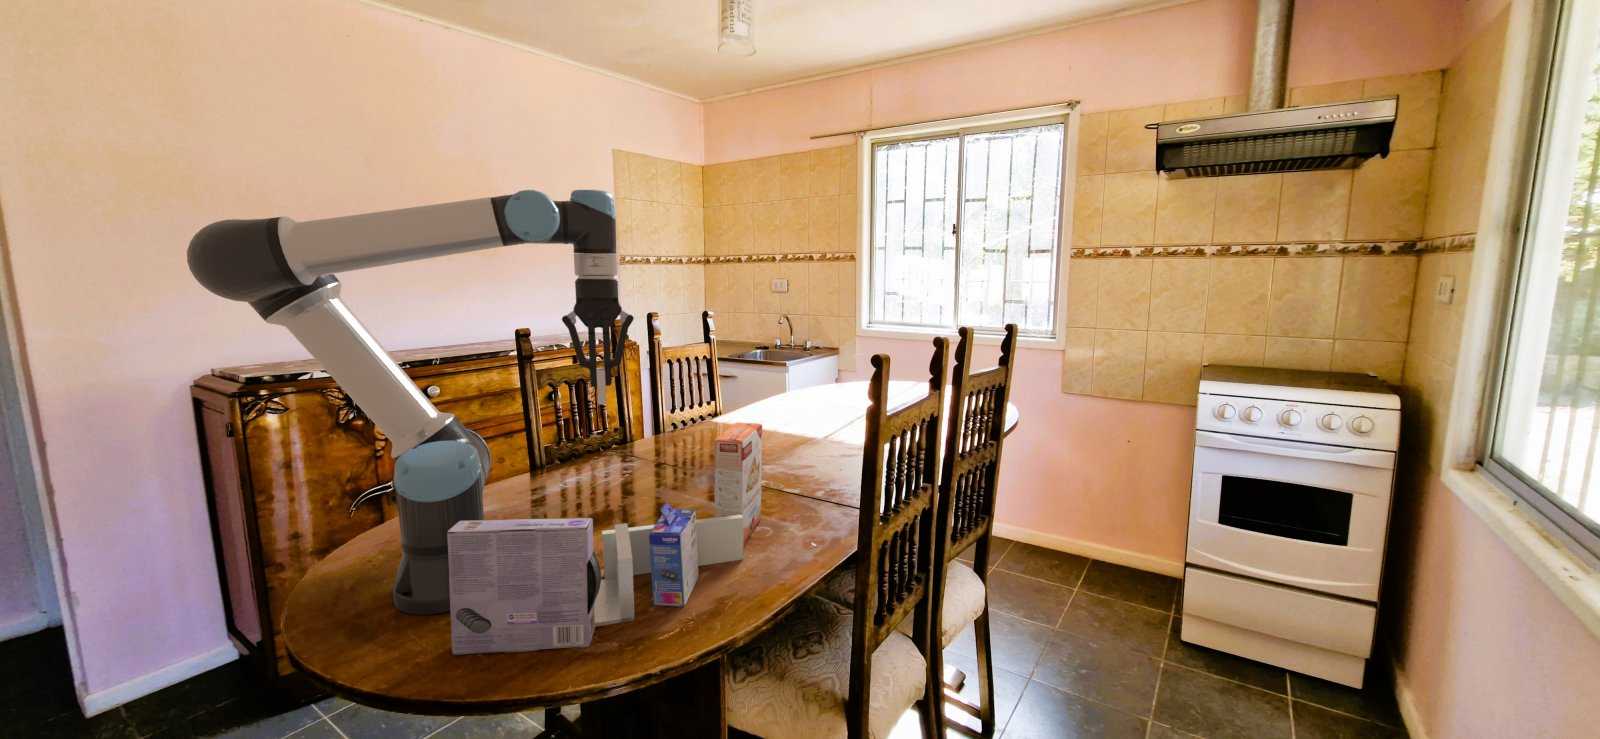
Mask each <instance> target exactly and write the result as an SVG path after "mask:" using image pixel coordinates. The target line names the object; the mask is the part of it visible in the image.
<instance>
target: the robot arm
mask: <svg viewBox="0 0 1600 739" xmlns="http://www.w3.org/2000/svg"><path fill="white" fill-rule="evenodd" d="M616 221H617V217H616V209H615V199H614V196H613V195H612V194H611V193H610V192H608V191H605V190H600V189H599V190H598V189H575V190H572V191H571V193H570V198H569V200H565V201H564V200H561V201H559V200H553V199H552V198H551V197H550V196H548V195H547V194H546V193H543V192H541V191H538V190H536V189H525V190H524V189H523V190H519V191H517V192H515V193H513V194H512V193H511V194H505V195H499V196H498V195H497V196H494V197H493V196H492V197H491V196H489V197H483V198H474V199H467V200H459V201H451V202H445V203H437V204H435V203H434V204H427V205H421V206H414V207H407V208H398V209H391V210H384V211H377V212H376V211H375V212H368V213H360V214H351V215H346V216H337V217H330V218H322V219H321V218H320V219H314V220H305V221H296V220H294V219H293V218H291V217H289V216H287V215H285V216H278V217H270V218H269V217H268V218H255V219H253V218H252V219H238V218H237V219H236V218H234V219H224V220H219V221H214V222H213V223H210V224H208V225H206V226H204V227H202V228H201V229H200V230H199V231H198V232H196V233H195V234H194V236H193V237H192V238H191V240H190V242H189V244H188V248H187V250H186V258H187V259H186V261H187V264H188V269H189V271H190V272H191V275H192V276H193V278H194V279H195V280H196V281H197V282H198V283H199V285H201V286H202V287H204V288H205V289H206V290H208V291H209V292H210V293H212V294H214V295H216V296H218V297H221V298H224V299H226V300H230V301H234V302H243V303H248V304H249V306H251V307H252V308H253V310H254V312H256V313H257V314H258V315H259V316H260V318H262V320H263V321H265V322H266V323H267V324H269V325H276V326H282V327H284V328H287V330H288V331H289V332H290V333H291V334H292V336H293V337H294V338H295V339H296V341H298V342H299V343H300V345H302V347H304V349H305V350H306V351H307V352H308V353H310V355H311V356H312V357H313V358H314V359H315V360H316V361H317V363H318V364H319V365H320V366H321V367H322V368H323V370H325V371H326V372H327V374H328V375H329V376H330V377H331V378H332V379H333V380H334V381H335V382H336V384H337V385H339V387H340V388H341V389H342V390H343V391H344V392H345V393H346V394H347V395H348V396H349V397H350V399H352V401H354V403H355V404H356V405H357V406H358V407H359V409H361V411H362V412H363V413H364V414H365V415H366V416H367V417H368V418H369V419H370V421H371V422H372V423H374V425H375V426H376V427H377V428H378V429H379V430H380V431H381V433H383V434H384V435H385V437H386V438H387V439H388V440H389V441H390V442H391V445H392V446H391V447H392V448H391V452H390V453H391V454H390V457H391V458H392V459H393V460H394V461H395V464H394V472H393V473H394V474H393V483H394V488H395V494H396V504H397V512H398V521H399V532H400V541H401V551H402V553H401V558H400V562H399V566H398V567H397V572H396V576H395V579H394V584H393V587H392V597H393V604H394V608H396V609H397V610H399V611H400V612H403V613H405V614H411V615H418V616H419V615H422V616H424V615H436V614H438V615H439V614H442V613H448V612H449V613H450V591H449V559H448V538H447V534H448V531H449V530H450V529H451V528H452V527H453V526H454V525H455V524H457V523H458V522H459V521H477V520H485V512H484V511H485V510H484V496H483V493H484V488H485V485H486V482H487V478H488V476H489V474H490V471H491V466H492V465H491V464H492V459H491V458H492V456H491V452H490V450H489V447H488V445H487V443H486V441H485V439H483V438H482V436H480V435H479V434H478V433H476V432H475V431H473V430H472V429H468V428H466V427H465V426H464V424H463V423H462V422H461V421H460V420H459V419H458V417H457V416H456V415H455V414H454V413H449V412H442V411H439V410H438V408H436V407H435V405H434V404H433V403H432V402H431V401H430V399H429V398H428V397H427V396H426V395H425V394H424V393H423V392H422V390H421V389H420V388H419V386H417V385H416V383H415V382H414V381H413V380H412V378H411V377H410V376H409V375H408V374H407V372H405V371H404V369H403V368H402V367H401V366H400V365H399V364H398V362H397V361H396V359H394V358H393V357H392V356H391V354H390V353H389V352H388V351H387V350H386V348H384V346H383V345H382V344H381V343H380V342H379V341H378V340H377V338H376V337H375V336H374V334H373V333H371V331H370V330H369V329H368V328H367V327H366V325H364V323H363V322H362V321H361V320H360V319H359V318H358V316H357V315H356V314H355V313H354V312H353V311H352V310H351V309H350V308H349V306H348V304H346V302H344V300H343V299H342V298H341V291H342V284H343V283H341V280H339V279H338V277H337V276H335V274H339V273H344V272H345V273H346V272H353V271H358V270H365V269H371V268H377V267H383V266H390V265H397V264H402V263H407V262H415V261H420V260H428V259H434V258H440V257H447V256H452V255H457V254H458V255H459V254H465V253H471V252H477V251H483V250H490V249H497V248H501V247H502V248H503V247H510V246H517V245H525V244H542V245H544V244H546V245H547V244H552V245H555V244H561V245H568V244H569V245H570V244H571V245H573V265H574V275H575V276H576V277H577V276H578V277H577V278H576V279H575V280H574V285H575V286H574V287H575V288H574V290H575V304H574V305H573V310H572V311H571V312H569V313H567V314H565V315H563V316H562V317H561V321H562V323H563V324H564V325H565V327H566V328H567V329H568V332H569V335H570V338H571V342H572V345H573V348H574V351H575V355H576V358H577V361H578V365H579V367H582V368H585V369H587V370H589V377H590V380H589V381H590V386H591V387H592V388H593V387H596V388H597V389H596V390H597V393H596V394H597V405H607V394H606V387H609V386H610V387H611V386H612V384H613V382H612V379H613V377H612V369H613V368H614V367H617V366H620V365H621V364H622V359H623V354H624V351H625V350H624V349H625V345H626V341H627V335H628V332H629V331H628V330H629V328H630V326H631V325H632V323H633V321H634V315H632V314H631V313H628V312H626V311H624V310H623V309H622V308H623V307H622V306H621V304H620V301H619V281H618V279H617V278H615V277H616V276H618V272H619V271H618V256H617V223H616ZM619 316H620V318H619V321H620V323H621V325H620V329H619V333H618V339H617V344H616V347H615V348H616V349H615V353H614V358H613V359H612V358H611V357H612V356H611V355H612V354H611V333H610V332H611V331H610V327H612V325H613V324H614V323H615V322H616V320H617V319H618V317H619ZM576 317H577V318H578V319H579V320H580V321H581V322H582V324H583V325H584V326H585V327H586V328H587V334H588V353H589V354H588V355H589V356H588V358H589V359H586V356H585V353H584V350H583V349H584V348H583V347H582V342H581V340H580V336H579V333H578V331H577V327H576V324H577V319H576ZM597 328H600V329H601V330H602V346H603V348H602V349H603V350H602V351H603V367H597V348H596V346H597V345H596V342H597V341H596V329H597Z"/></svg>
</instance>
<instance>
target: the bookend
mask: <svg viewBox="0 0 1600 739" xmlns="http://www.w3.org/2000/svg"><path fill="white" fill-rule="evenodd" d="M628 528H629V526H628V522H625V523H617V524H614V529H615V541H616V565H617V577H616V578H609V579H601V584H600V589H599V592H598V595H597V597H596V600H595V603H594V614H595V628H596V627H602V626H603V627H604V626H609V625H615V624H619V623H620V624H621V623H626V622H632V621H633V622H634V621H635V620H636V618H635V617H636V616H635V594H634V593H635V592H634V591H635V590H634V575H633V563H632V552H631V545H630V538H629V531H628Z"/></svg>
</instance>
